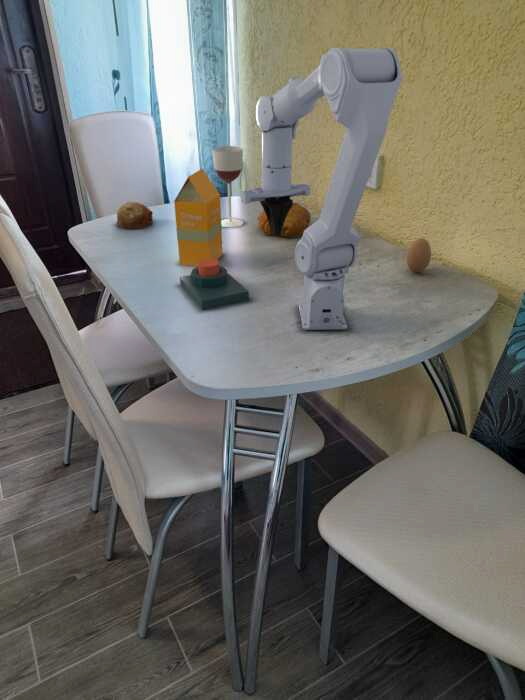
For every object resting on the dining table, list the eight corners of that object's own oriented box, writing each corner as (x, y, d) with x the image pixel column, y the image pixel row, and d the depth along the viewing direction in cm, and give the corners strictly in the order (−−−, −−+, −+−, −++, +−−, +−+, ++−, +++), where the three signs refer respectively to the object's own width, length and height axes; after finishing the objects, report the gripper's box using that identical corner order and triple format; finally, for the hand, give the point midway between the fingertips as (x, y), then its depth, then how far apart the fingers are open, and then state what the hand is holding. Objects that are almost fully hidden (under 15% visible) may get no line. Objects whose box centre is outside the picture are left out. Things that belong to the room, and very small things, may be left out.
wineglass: (211, 226, 142) (207, 151, 131) (222, 217, 149) (219, 145, 138) (238, 229, 140) (236, 152, 129) (248, 219, 147) (247, 147, 136)
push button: (223, 275, 103) (222, 264, 102) (202, 278, 101) (202, 268, 100) (215, 267, 106) (214, 257, 105) (195, 271, 105) (194, 260, 103)
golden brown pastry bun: (313, 230, 145) (316, 202, 142) (303, 240, 131) (306, 209, 128) (264, 225, 148) (266, 197, 145) (250, 234, 134) (252, 203, 131)
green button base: (248, 300, 101) (248, 282, 99) (202, 310, 97) (200, 291, 95) (223, 277, 111) (223, 260, 109) (180, 285, 107) (178, 268, 105)
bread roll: (122, 232, 148) (106, 209, 143) (151, 213, 149) (136, 189, 144) (129, 242, 141) (113, 218, 136) (160, 222, 142) (145, 198, 137)
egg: (399, 270, 115) (404, 236, 110) (416, 266, 117) (422, 232, 113) (415, 278, 111) (421, 243, 107) (432, 274, 113) (439, 239, 109)
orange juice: (223, 254, 123) (219, 169, 113) (210, 267, 116) (205, 177, 105) (193, 251, 125) (186, 167, 114) (178, 264, 118) (170, 175, 107)
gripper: (299, 158, 103) (296, 223, 110) (233, 164, 97) (235, 233, 104) (317, 164, 97) (313, 233, 105) (249, 172, 92) (250, 243, 99)
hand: (275, 234), depth 104 cm, fingers closed
